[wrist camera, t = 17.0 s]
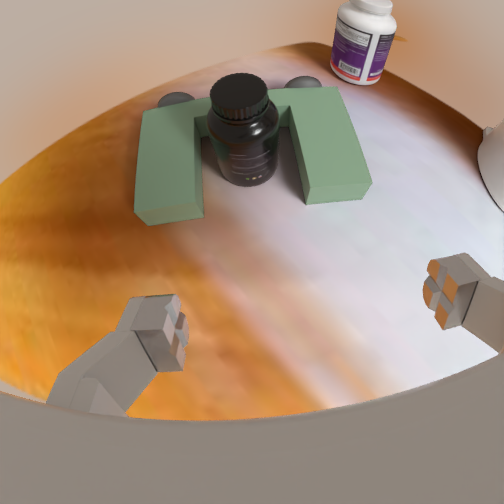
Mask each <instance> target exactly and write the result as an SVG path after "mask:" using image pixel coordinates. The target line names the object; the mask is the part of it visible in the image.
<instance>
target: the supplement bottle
mask: <svg viewBox="0 0 504 504" xmlns="http://www.w3.org/2000/svg"><path fill="white" fill-rule="evenodd" d="M210 100H211V108H210V109H209V111H208V114H207V117H206V126H207V131H208V134H209V137H210V140H211V143H212V146H213V149H214V153H215V156H216V159H217V162H218V165H219V168H220V170H221V172H222V174H223V176H224V177H225V178H226V179H227V180H228V181H230V182H231V183H233V184H235V185H238V186H244V187H252V186H257V185H260V184H262V183H264V182H266V181H267V180H269V179H270V178H271V177H272V176H273V174H274V173H275V171H276V169H277V166H278V160H279V124H280V119H279V112H278V109H277V107H276V106H275V104H274V103H273V102H272V101H271V100H270V99H269V96H268V88H267V87H266V84H265V83H264V81H263V80H261V78H259V77H257V76H255V75H253V74H248V73H235V74H230V75H227V76H225V77H222V78H221V79H220V80H218V81H217V82H216V83H215V84H214V85H213V86H212V89H211V90H210Z"/></svg>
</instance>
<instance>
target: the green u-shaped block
mask: <svg viewBox="0 0 504 504" xmlns="http://www.w3.org/2000/svg"><path fill="white" fill-rule="evenodd" d="M268 96H269V99H270V100H271V101H272V102H273V103H274V104H275V106H276V107H277V109H278V112H279V119H280V124H279V127H287V126H289V130H290V134H291V138H292V143H293V147H294V151H295V156H296V160H297V165H298V169H299V174H300V178H301V183H302V188H303V193H304V198H305V203H306V205H309V204H319V203H329V202H339V201H350V200H361V199H362V198H363V197H364V195H365V194H366V192H367V190H368V189H369V187H370V186H371V184H372V180H371V176H370V173H369V170H368V167H367V164H366V161H365V158H364V155H363V152H362V149H361V146H360V144H359V141H358V138H357V135H356V133H355V130H354V127H353V125H352V122H351V119H350V117H349V114H348V112H347V109H346V107H345V105H344V102H343V100H342V97H341V95H340V93H339V90H338V88H337V87H322V85H321V83H320V82H319V80H317V79H316V78H314V77H310V76H300V77H296V78H294V79H292V80H290V81H289V82H288V83H287V84H286V85H285V87H284V88H283V89H270V90H268ZM210 108H211V100H210V97H207V98H202V99H196V100H195V99H194V97H192V96H191V95H189V94H187V93H183V92H174V93H169V94H167V95H165V96H164V97H162V98H161V99H160V101H159V103H158V108H154V109H150V110H146V111H143V117H142V124H141V132H140V140H139V149H138V159H137V170H136V183H135V199H134V213H135V214H136V215H137V216H138V217H139V218H140V219H141V220H142V221H143V222H144V223H146V224H147V225H148V226H152V225H158V224H164V223H171V222H177V221H184V220H191V219H197V218H204V207H203V187H202V163H201V137H206V136H209V134H208V131H207V126H206V117H207V114H208V111H209V109H210Z"/></svg>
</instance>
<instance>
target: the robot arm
mask: <svg viewBox="0 0 504 504" xmlns="http://www.w3.org/2000/svg"><path fill="white" fill-rule="evenodd" d="M478 164H479V168H480V172H481V175H482V178H483V180H484V182H485V185H486V187H487V189H488V190H489V192H490V194H491V196H492V197H493V199H494V200H495V202H496V203H497V204H498V206H499V207H500V208H501V209H502V210H503V212H504V119H503V120H502V121H501V122H500V123H499V124H498V125H497V126H496V127H495V128H494V129H493V128H490V127H487V128H485V129H484V130H483V141H482V143H481V144H480V146H479V149H478ZM427 272H428V274H429V276H428V278H427V279H426V280H425V281H424V286H423V298H424V301H425V303H426V305H427V306H428V308H429V309H431V310H433V311H435V316H434V317H435V319H436V320H437V322H438V323H439V325H440V326H441V328H442V330H446V329H449V328H453V327H457V326H460V325H462V327H464V328H465V329H467V330H468V331H469V332H471V333H472V334H474V335H475V336H476V337H478V338H479V339H481V340H482V341H483V342H485V343H486V344H487V345H489V346H490V347H492V348H493V349H494V350H496V351H497V352H498V353H499V354H498V355H497V356H495V357H493V358H491V359H489V360H487V361H485V362H482V363H480V364H478V365H475V366H473V367H471V368H468V369H466V370H464V371H461V372H459V373H456V374H453V375H451V376H448V377H445V378H443V379H440V380H437V381H434V382H431V383H429V384H426V385H423V386H419V387H416V388H413V389H410V390H407V391H403V392H400V393H396V394H393V395H389V396H385V397H382V398H378V399H374V400H370V401H365V402H361V403H356V404H352V405H347V406H342V407H337V408H332V409H326V410H320V411H314V412H308V413H301V414H293V415H285V416H276V417H266V418H254V419H239V420H213V421H183V420H157V419H142V418H131V417H129V416H128V415H127V414H126V413H125V412H126V411H127V410H128V408H129V407H130V406H131V405H132V404H133V402H134V401H135V400H136V399H137V398H138V396H139V395H140V394H141V393H142V392H143V390H144V389H145V388H146V387H147V386H148V384H149V383H150V382H151V381H152V380H153V378H154V377H155V376H156V375H157V372H173V371H183V367H184V362H185V356H186V354H185V352H184V349H183V348H184V347H185V346H186V345H187V344H188V339H189V327H188V323H187V319H186V316H185V315H184V314H183V313H182V312H180V307H181V303H180V300H179V297H178V296H177V295H176V294H168V295H154V296H141V297H132V298H131V299H129V301H128V304H127V306H126V308H125V310H124V312H123V314H122V317H121V319H120V321H119V323H118V325H117V328H116V330H115V332H110V333H109V334H107V335H106V336H105V337H104V338H102V339H101V340H100V341H98V342H97V343H96V344H95V345H93V346H92V347H91V348H90V349H88V350H87V351H86V352H85V353H83V354H82V355H81V356H80V357H78V358H77V359H76V360H75V361H74V362H72V363H71V364H70V365H69V366H67V367H66V368H65V369H64V370H62V371H61V372H60V373H59V374H58V377H57V379H56V381H55V383H54V385H53V388H52V390H51V392H50V394H49V397H48V399H47V401H46V404H45V403H41V402H37V401H33V400H29V399H26V398H22V397H18V396H15V395H12V394H8V393H5V392H2V391H0V504H504V281H503V280H500V279H498V278H496V277H492V278H491V277H490V276H489V274H488V273H487V272H486V271H485V270H484V269H483V268H482V267H481V266H480V265H479V264H478V263H477V262H476V261H475V260H474V259H473V258H472V257H471V256H470V255H468V254H466V253H460V254H456V255H453V256H449V257H443V258H438V259H433V260H430V262H429V264H428V268H427Z"/></svg>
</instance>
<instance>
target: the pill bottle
mask: <svg viewBox="0 0 504 504" xmlns="http://www.w3.org/2000/svg"><path fill="white" fill-rule="evenodd" d="M392 7H393V4H392V2H391V1H390V0H350V2H346V3H344V4H342V5H341V6H340V7H339V9H338V14H337V21H336V29H335V35H334V41H333V47H332V54H331V60H330V65H331V68H332V70H333V71H334V72H335V73H336V74H337V75H338V76H339V77H340V78H342V79H343V80H345V81H347V82H349V83H353V84H357V85H371V84H374V83H376V82H377V81H378V80H379V79H380V77H381V74H382V71H383V68H384V65H385V62H386V59H387V56H388V53H389V50H390V46H391V43H392V41H393V38H394V35H395V31H396V28H397V25H396V21H395V20H394V18H393V17H392V16H391V15H390V13H391V11H392Z"/></svg>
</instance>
